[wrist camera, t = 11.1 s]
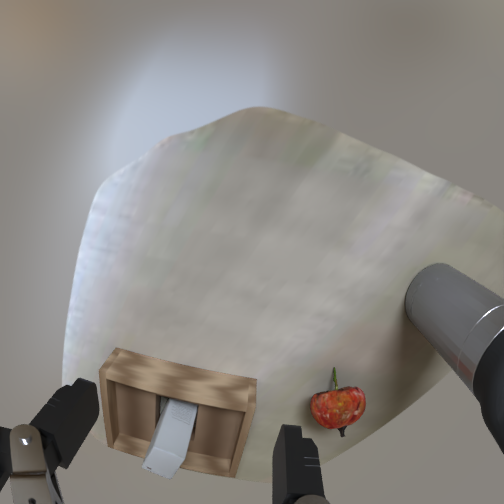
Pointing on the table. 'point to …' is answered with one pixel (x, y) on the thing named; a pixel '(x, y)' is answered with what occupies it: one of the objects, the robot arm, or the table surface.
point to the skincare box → (170, 438)
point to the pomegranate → (338, 407)
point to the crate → (184, 389)
